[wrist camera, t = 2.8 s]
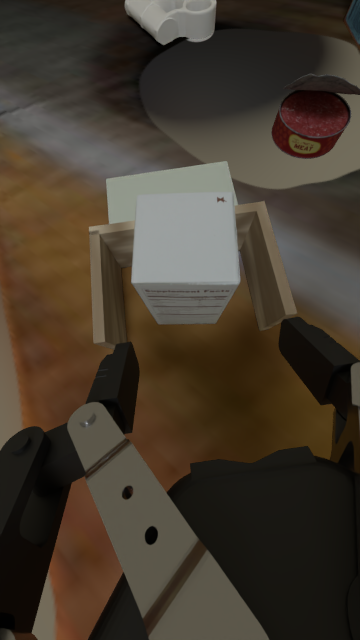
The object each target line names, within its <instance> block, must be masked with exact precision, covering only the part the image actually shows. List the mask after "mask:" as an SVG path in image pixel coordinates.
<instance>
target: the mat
mask: <svg viewBox="0 0 360 640" xmlns="http://www.w3.org/2000/svg"><path fill="white" fill-rule="evenodd" d="M106 183H107V198H108V213H109V224H114V223H120V222H127V221H134V220H135V210H136V198H137V195H142V194H164V193H193V192H233V193H234V205H238V203H237V199H236V195H235V191H234V187H233V183H232V179H231V175H230V172H229V168H228V164H227V161H225V162H218V163H211V164H204V165H197V166H190V167H184V168H177V169H170V170H163V171H157V172H150V173H143V174H136V175H130V176H123V177H116V178H109V179H106Z"/></svg>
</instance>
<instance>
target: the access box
mask: <svg viewBox="0 0 360 640" xmlns="http://www.w3.org/2000/svg"><path fill="white" fill-rule="evenodd" d="M235 219H236V229H237V245H238V251H240V253H241V257H242V261H243V265H244V269H245V273H246V278H247V282H248V286H249V290H250V294H251V298H252V302H253V307H254V311H255V315H256V319H257V323H258V327H259V331H261V330H268V329H270V328H271V327H273V326H275V325H277V324H279V323H281V322H282V320H283V319H288V318H290V317H292V316H294V315H295V314H297V311H296V307H295V304H294V301H293V297H292V294H291V290H290V287H289V284H288V280H287V277H286V273H285V270H284V267H283V263H282V260H281V256H280V253H279V250H278V246H277V243H276V239H275V236H274V233H273V229H272V226H271V222H270V219H269V216H268V212H267V209H266V205H265V202H264V201H263V202H256V203H249V204H242V205H235ZM134 226H135V220H134V221H127V222H120V223H114V224H107V225H100V226H93V227H89V235H90V261H91V288H92V314H93V340H94V344H97V345H100V346H104V347H107V348H110V349H113V350H114V349H115V346H116V344H119V343H125V342H127V337H126V325H125V312H124V299H123V286H122V273H121V268H124V267H131V266H132V259H133V242H134Z"/></svg>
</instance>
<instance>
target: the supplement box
mask: <svg viewBox="0 0 360 640" xmlns="http://www.w3.org/2000/svg"><path fill="white" fill-rule="evenodd" d="M131 283H132V284H133V286H134V287H135V289H136V291H137V292H138V294H139V295H140V297H141V298H142V300H143V302H144V303H145V305H146V306H147V308H148V309H149V311H150V313H151V314H152V316H153V317H154V319H155V320H156V322H157V323H158V324H216V323H217V321H218V319H219V317H220V316H221V314H222V312H223V310H224V309H225V307H226V305H227V304H228V302H229V300H230V299H231V297H232V295H233V294H234V292H235V290H236V289H237V287H238V285H239V283H240V269H239V258H238V245H237V229H236V219H235V205H234V193H233V192H193V193H164V194H142V195H137V198H136V210H135V226H134V242H133V259H132V279H131Z"/></svg>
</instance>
